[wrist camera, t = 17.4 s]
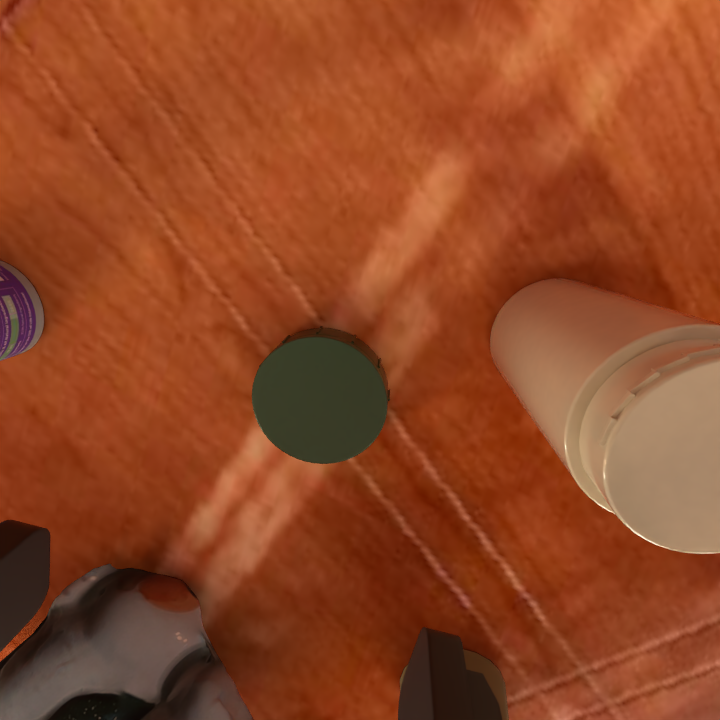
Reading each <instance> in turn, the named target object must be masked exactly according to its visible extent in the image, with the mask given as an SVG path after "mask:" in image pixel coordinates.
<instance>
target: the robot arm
mask: <svg viewBox="0 0 720 720" xmlns="http://www.w3.org/2000/svg"><path fill="white" fill-rule="evenodd" d="M49 575H50V532H49V531H48V529H46V528H42V527H38V526H34V525H30V524H26V523H22V522H19V521H15V520H6V521H4V522H1V523H0V652H1V651H2V650H3V649H4V648H5V646H6V645H7V644H8V643H9V642H10V641H11V640H12V639H13V638H14V637H15V636H16V635H17V634H18V633H19V632H20V631H21V629H22V628H23V627H24V626H25V625H26V624H27V623H28V622H29V621H30V620H31V619H32V618H33V616H34V615H35V614H36V613H37V611H38V610H39V608H40V607H41V605H42V603H43V601H44V599H45V597H46V595H47V592H48V588H49ZM398 720H502V715H501V711H500V706H499V703H498V701H497V699H496V697H495V695H494V693H493V692H492V690H491V688H490V686H489V684H488V682H487V680H486V678H485V677H484V675H483V673H479V672H475V671H471V670H467V669H466V664H465V658H464V651H463V645H462V641H461V639H460V637H459V636H457V635H453V634H449V633H445V632H441V631H437V630H433V629H429V628H426V627H423V628H422V629H421V631H420V634H419V636H418V639H417V642H416V645H415V647H414V650H413V653H412V656H411V658H410V661H409V664H408V667H407V669H406V672H405V675H404V678H403V681H402V686H401V691H400V698H399V709H398Z"/></svg>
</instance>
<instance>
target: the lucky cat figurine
mask: <svg viewBox="0 0 720 720" xmlns="http://www.w3.org/2000/svg"><path fill="white" fill-rule="evenodd" d="M0 720H254V719H253V718H252V716H251V714H250V712H249V710H248V709H247V707H246V705H245V703H244V702H243V700H242V698H241V696H240V694H239V692H238V690H237V688H236V685H235V683H234V682H233V680H232V678H231V677H230V676H229V674H228V673H227V672H226V668H225V666H224V665H223V663H222V661H221V660H220V658H219V657H218V655H217V654H216V652H215V650H214V648H213V646H212V644H211V642H210V640H209V639H208V637H207V634H206V632H205V630H204V627H203V624H202V617H201V610H200V604H199V602H198V599H197V597H196V596H195V594H194V593H193V592H192V591H191V590H190V588H189V587H188V586H187V585H186V584H185V583H184V582H183V581H182V580H179V579H175V578H173V577H169V576H165V575H161V574H156V573H151V572H147V571H144V570H140V569H134V568H127V569H116V568H114V567H112V565H111V564H107V565H104V566H101V567H98V568H94V569H92V570H91V571H90V572H88V573H87V574H85V575H84V576H82V577H81V578H79V579H77V580H76V581H74V582H73V583H71V584H70V585H69V586H67V587H66V588H65V589H64V590H63V591H62V593H61V594H60V595H59V596H58V597H56V599H55V600H54V602H53V603H52V606H51V608H50V609H49V612H48V615H47V617H46V618H45V619H44V621H43V622H42V623H41V624H40V625H39V627H38V628H37V629H36V630H35V632H34V633H33V634H32V635H31V636H30V637H29V638H27V639H26V640H25V641H24V642H23V643H22V644H20V645H19V646H18V647H17V648H16V649H15V650H13V651H12V652H11V653H10V654H9V655H8V656H6V657H5V658H4V659H3V660H2V661H1V662H0Z"/></svg>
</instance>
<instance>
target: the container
mask: <svg viewBox="0 0 720 720" xmlns="http://www.w3.org/2000/svg"><path fill="white" fill-rule="evenodd" d="M43 327H44V312H43V307H42V304H41V301H40V298H39V296H38V294H37V292H36V290H35V288H34V287H33V285H32V284H31V283H30V282H29V280H28V279H27V278H26V277H25V276H24V275H23V274H22V273H21V272H20V271H18V270H17V269H16V268H14V267H13V266H11V265H9V264H7V263H5V262H3V261H0V361H1V360H4V359H7V358H10V357H13V356H15V355H18V354H21V353H23V352H26V351H27V350H29V349H31V348H32V347H33V346H34V345H35V344H36V343H37V341H38V340H39V338H40V336H41V334H42V331H43Z"/></svg>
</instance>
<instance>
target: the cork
mask: <svg viewBox="0 0 720 720" xmlns="http://www.w3.org/2000/svg"><path fill="white" fill-rule="evenodd" d="M463 651H464V658H465V664H466V669H467V670H471V671H475V672H479V673H483V675H484V677H485V678H486V680H487V682H488V684H489V686H490V688H491V690H492V692H493V693H494V695H495V697H496V699H497V701H498V703H499V706H500V711H501V715H502V720H509V717H508V707H507V698H506V688H505V682H504V680H503V677H502V675H501V672H500V671H499V670H498V668H497V667H496V666H495V665H494V664H493V663H492V662H491V661H490V660H488V659H486V658H485V657H483V656H481V655H479V654H478V653H475V652H471V651H468V650H464V649H463ZM407 667H408V665H407V666H406V667H405V668H404V670H403V673H402V676H401V678H400V691H401V686H402V681H403V678H404V675H405V672H406V669H407Z"/></svg>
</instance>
